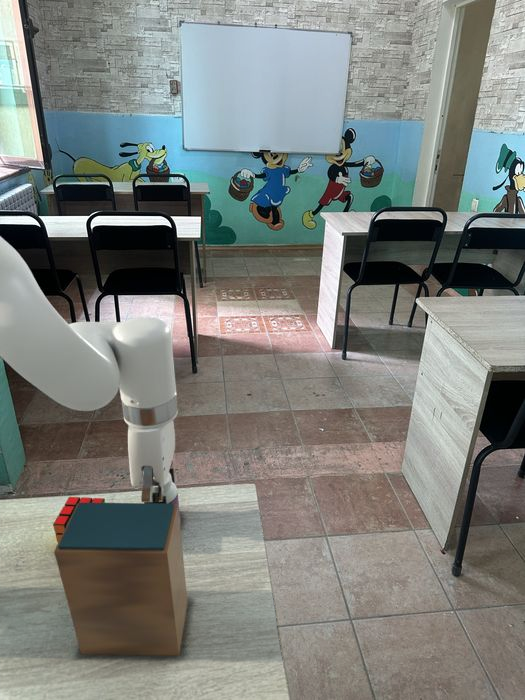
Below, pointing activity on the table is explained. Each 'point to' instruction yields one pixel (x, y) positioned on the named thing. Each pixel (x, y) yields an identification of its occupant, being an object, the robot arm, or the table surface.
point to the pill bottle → (169, 491)
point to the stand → (127, 596)
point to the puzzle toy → (70, 513)
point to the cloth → (118, 526)
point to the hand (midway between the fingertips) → (161, 501)
